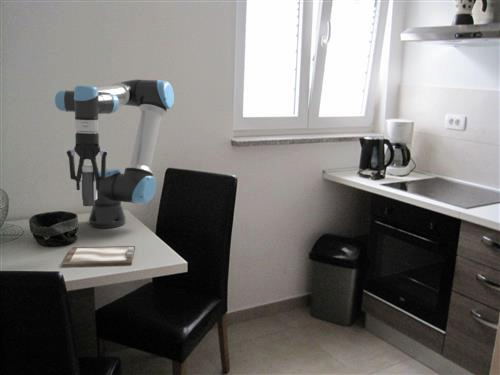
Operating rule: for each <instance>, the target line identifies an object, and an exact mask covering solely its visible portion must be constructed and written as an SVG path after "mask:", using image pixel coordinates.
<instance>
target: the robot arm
mask: <svg viewBox="0 0 500 375" xmlns="http://www.w3.org/2000/svg"><path fill="white" fill-rule="evenodd" d="M174 94H175V93H174V89H173V86H172V85H171V83H169V82H168V81H167V80H160V79H157V80H155V79H152V80H150V79H130V80H125V81H121V82H115V83H113V84H112V85H110V86H100V87H97V86H95V85H93V86H91V85H89V86H88V85H76V86H75V87H74V90H67V89H65V90H58V92H56V93H55V96H54V103H55V107H56V108H57V110H59V111H61V112H66V113H68V112H70V113H71V112H72V113H74V130H75V131H76V133H75V135H74V136H75V146H74V148H72V149H69V150H67V151H66V155H67V157H68V163H69V174H70V175H69V176H70V180H74V181H75V182H76V183H75V184H76V185H75V186H76V190H77V191H79V200H80V201H83V189H82V166H83V165H85V164H84V163H85V160H89V161H90V163H91V165H92V166H93V171H94V200H95V205H94V206H91V210H90V213H89V217H88V225H89V226H90V227H92V228H97V229H113V228H119V227H121V226H124V225H125V224H126V222H127V221H126V220H127V219H126V217H127V216H126V214H125V212H124V210H123V206H122V202H123V203H131V204H135V205H137V204H138V205H139V204H140V205H141V204H142V205H144V204H147V203H149V202H150V201H152V199H153V198H154V196H155V193H156V190H157V180H156V178H155V177H154V173H153V171H152V170H151V169H152V164H153V159H154V155H155V150H156V145H157V140H158V135H159V131H160V126H161V121H162V117H164V116H165V115H166V114H167V110H168V109H171V108H173V106H174V103H175V95H174ZM119 106H121V107H122V106H131V107H138V108H139V109H138V110H140V117H139V122H138V126H137V130H136V135H135V140H134V145H133V150H132V154H131V158H130V162H129V165H128V166H126V167H125V169H124V171H123V173H121V169H119V168H108V169H107V168H106V167H107V166H106V165H107V156H108V154H109V152H108V150H104V149H101V146H100V136H99V133H98V132H99V129H100V128H99V114H100V115H102V114H107V115H110V114H114V113H115V112H117V111H118V109H119ZM99 153H100V155H99V156H100V157H101V159H100V161H101V162H100V163H101V164H100V166H101V167H100V168H101V169H100V170H99V167H98V163H97V156H98V154H99ZM75 154H77V156H78V157H79V159H78V166H77V172H76V168H75V167H76V166H75V157H74V156H75Z"/></svg>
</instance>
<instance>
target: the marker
mask: <svg viewBox="0 0 500 375" xmlns="http://www.w3.org/2000/svg"><path fill="white" fill-rule="evenodd" d="M81 180H82V189H83V200H82V206H83V207H92V206H94V205H95V200H94V171H93V166H92V164H84V165H83V166H82V175H81Z"/></svg>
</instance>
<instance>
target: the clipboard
mask: <svg viewBox="0 0 500 375" xmlns="http://www.w3.org/2000/svg"><path fill="white" fill-rule="evenodd" d="M135 250H136V246H135V245H118V246H117V245H113V246H112V245H110V246H108V245H106V246H72V247H71V249H70V250H69V252H68V254H67V256H66V258H65V259H64V260H63V262H62V267H63V268H65V267H66V268H67V267H96V266H97V267H99V266H101V267H102V266H103V267H104V266H106V267H107V266H132V264H133V259H134V255H135Z"/></svg>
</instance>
